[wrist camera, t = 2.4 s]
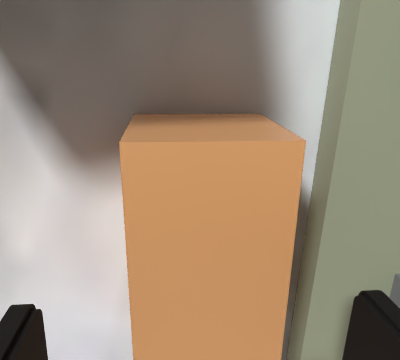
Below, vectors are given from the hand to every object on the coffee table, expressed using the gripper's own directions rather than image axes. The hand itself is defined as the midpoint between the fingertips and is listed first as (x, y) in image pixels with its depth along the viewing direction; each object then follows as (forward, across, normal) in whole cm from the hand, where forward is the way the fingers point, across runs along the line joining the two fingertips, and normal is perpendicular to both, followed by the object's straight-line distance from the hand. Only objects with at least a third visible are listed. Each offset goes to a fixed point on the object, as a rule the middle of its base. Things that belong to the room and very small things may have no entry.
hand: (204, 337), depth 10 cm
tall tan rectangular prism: (+6, 0, -1) cm, 6 cm away
